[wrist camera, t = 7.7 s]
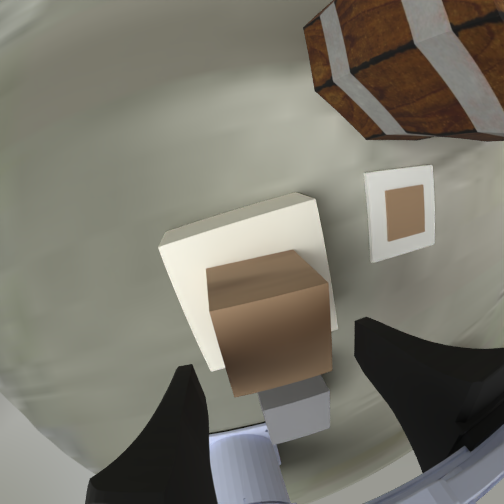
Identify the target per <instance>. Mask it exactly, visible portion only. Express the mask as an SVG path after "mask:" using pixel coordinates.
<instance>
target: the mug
mask: <svg viewBox="0 0 504 504" xmlns="http://www.w3.org/2000/svg"><path fill="white" fill-rule="evenodd" d="M303 29H304V34H305V39H306V44H307V49H308V54H309V60H310V65H311V71H312V77H313V83H314V89H315V92H317V93H318V94H319V95H320V96H321V97H322V98H323V99H325V100H326V101H327V102H328V103H329V104H330V105H331V106H332V107H333V108H334V109H336V110H337V111H338V112H339V113H340V114H341V115H342V116H343V117H344V118H345V119H346V120H347V121H348V122H349V123H350V124H351V125H352V126H353V127H354V128H355V129H356V130H357V131H358V132H359V133H360V134H361V135H362V136H363V137H364V138H365V139H366V140H421V139H426V138H432V137H452V138H462V139H471V140H479V141H487V142H488V141H504V0H333V1H332V2H331V3H330V4H329V5H327V6H326V7H325V8H324V9H323V10H322V11H321V12H320V13H318V14H317V15H316V16H315V17H314V18H313V19H312V20H311V21H310V22H309V23H308V24H306V25H305V26H304V27H303Z"/></svg>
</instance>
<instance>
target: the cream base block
mask: <svg viewBox="0 0 504 504" xmlns="http://www.w3.org/2000/svg"><path fill="white" fill-rule="evenodd" d="M158 248H159V251H160V254H161V256H162V259H163V262H164V264H165V267H166V269H167V272H168V274H169V277H170V279H171V282H172V284H173V287H174V289H175V292H176V294H177V297H178V299H179V302H180V304H181V306H182V309H183V311H184V313H185V316H186V318H187V320H188V323H189V325H190V327H191V329H192V332H193V334H194V336H195V338H196V341H197V343H198V345H199V347H200V349H201V351H202V354H203V356H204V358H205V360H206V362H207V364H208V366H209V368H210V370H211V372H212V371H215V370H219V369H222V368H225V365H224V361H223V358H222V355H221V351H220V348H219V344H218V341H217V338H216V334H215V331H214V327H213V323H212V320H211V316H210V313H209V303H208V291H207V278H206V268H211V267H215V266H220V265H225V264H229V263H234V262H238V261H243V260H247V259H252V258H256V257H261V256H265V255H270V254H274V253H279V252H283V251H288V250H292V249H293V250H294V251H295V252H296V253H298V254H299V255H300V256H301V257H302V258H303V259H304V260H305V261H306V262H307V263H308V264H309V265H310V266H311V267H312V268H313V269H315V270H316V271H317V272H318V273H319V274H320V275H321V276H322V277H323V278H324V279H325V280H326V281H327V282H328V283H329V297H330V315H331V332H332V331H334V330H337V329H338V324H337V317H336V310H335V303H334V296H333V290H332V283H331V277H330V271H329V265H328V260H327V254H326V249H325V243H324V238H323V233H322V228H321V223H320V218H319V213H318V208H317V203H316V199H314V198H311V197H308V196H306V195H303V194H300V193H297V192H294V193H290V194H287V195H283V196H280V197H276V198H273V199H269V200H266V201H262V202H259V203H255V204H252V205H249V206H245V207H242V208H239V209H235V210H232V211H229V212H225V213H222V214H219V215H216V216H213V217H209V218H206V219H203V220H200V221H197V222H194V223H191V224H187V225H184V226H181V227H178V228H175V229H172V230H169V231H166V232H165V234H164V236H163V238H162V240H161V242H160V244H159V246H158Z"/></svg>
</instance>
